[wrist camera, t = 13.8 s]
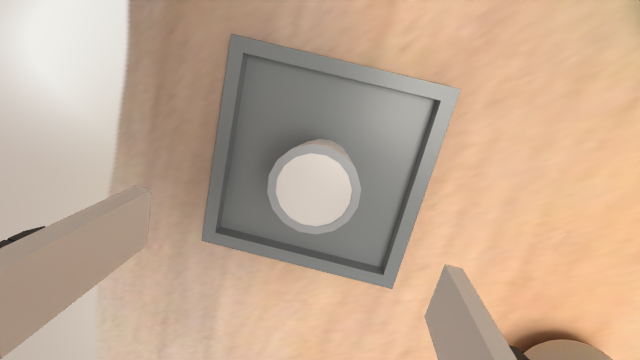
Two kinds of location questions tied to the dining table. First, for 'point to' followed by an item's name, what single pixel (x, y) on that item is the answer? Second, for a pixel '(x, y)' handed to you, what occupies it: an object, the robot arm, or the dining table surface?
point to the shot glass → (314, 187)
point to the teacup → (565, 351)
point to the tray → (331, 124)
